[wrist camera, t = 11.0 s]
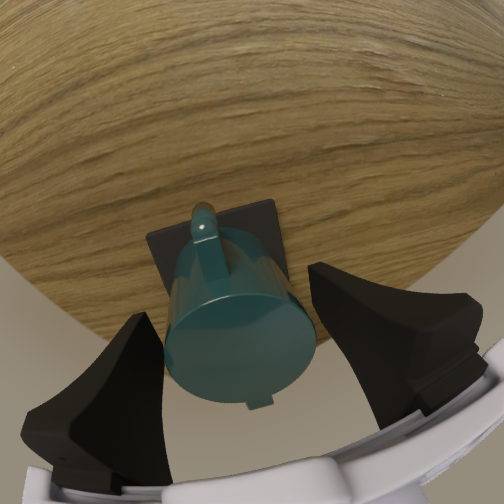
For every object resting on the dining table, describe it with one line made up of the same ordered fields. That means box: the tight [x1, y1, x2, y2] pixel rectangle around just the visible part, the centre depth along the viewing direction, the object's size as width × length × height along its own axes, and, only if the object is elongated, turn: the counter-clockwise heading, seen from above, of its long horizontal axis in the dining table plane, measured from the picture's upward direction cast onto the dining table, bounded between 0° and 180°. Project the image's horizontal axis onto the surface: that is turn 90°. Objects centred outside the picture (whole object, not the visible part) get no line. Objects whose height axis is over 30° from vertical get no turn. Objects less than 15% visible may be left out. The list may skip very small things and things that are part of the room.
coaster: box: [146, 199, 290, 297], centre depth 14 cm, size 6×6×1 cm
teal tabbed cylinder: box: [164, 202, 316, 410], centre depth 11 cm, size 5×8×6 cm
